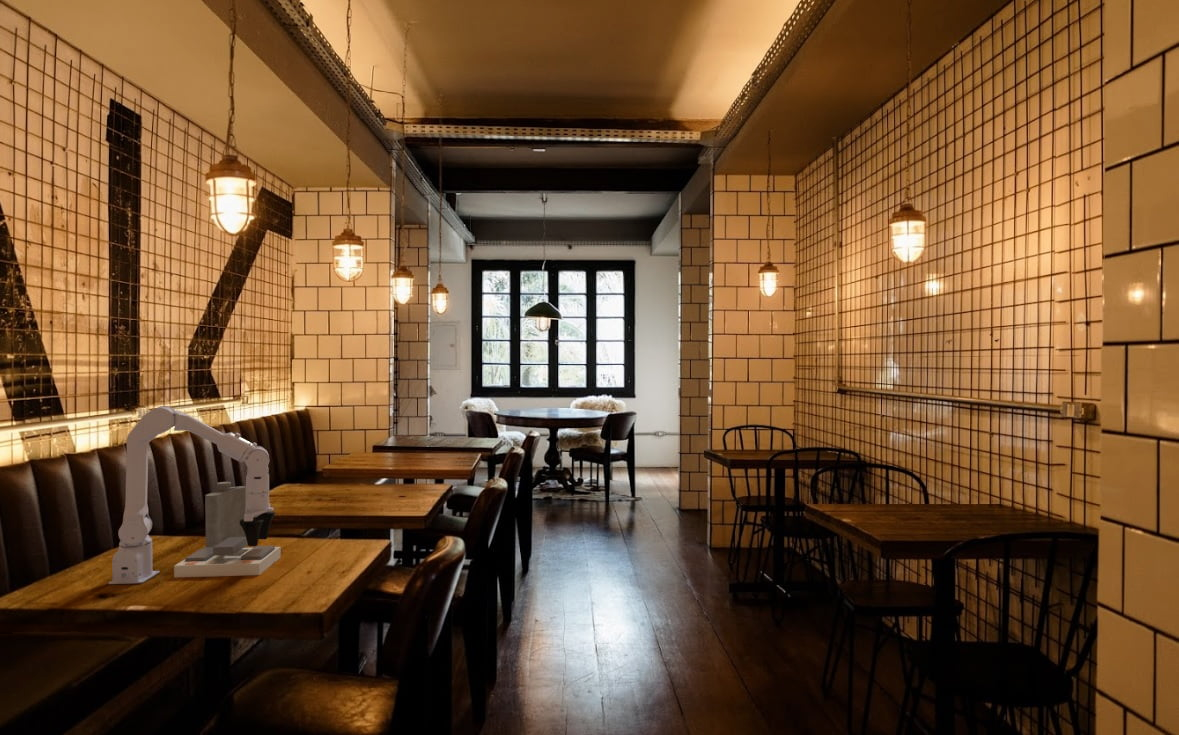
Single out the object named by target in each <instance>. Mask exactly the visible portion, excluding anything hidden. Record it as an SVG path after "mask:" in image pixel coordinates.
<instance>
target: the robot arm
mask: <svg viewBox="0 0 1179 735" xmlns="http://www.w3.org/2000/svg"><path fill="white" fill-rule="evenodd" d="M173 427H174V429H173V431H174V432H177V431H179V432H182V431H186V432H187V431H188V432H190V433H192V434H194V435H197V436H199V437H200V438H202V439H204V440H207V441H209V442H211V443H213V444H215V445H216V446H217V450H218V452H219V453H222V454H224V455H225V456H227V457H230V458H231V459H233V460H235V461H237V462H239V463H245V466H246V476H245V487H246V509H245V514H244V519H242V520H240V525H241V527H242V528H243V530H244V532H245V536H246V539H247V543H248V545H247V546H248V547H255V546H258V544H259V540H267V539H268V536H269V532H270V527H271V523H272V521H273V518H274V516H275V515H276V512H275V511H274V510H275V508H274V507H271V503H270V473H269V469H270V468H269V463H270V460H271V459H270V454H269V453H268V450H267V449H265V448H264V447H263V446H261V445H258V444H257V443H256V442H253V443H252V442H250V441H248V440H247V439H245V438H243V437H241V434H240V433H238V432H235V433H234V432H232V431H231V432H226V433H223V432H221V431H219V430H217V429H216V428H213V427H212V426H210V425H208V424H206V423H205V422H203V421H201V420H200V419H198V418H196V417H194V416H192V415H190V414H188V413H187V412H183V411H181V410H179V409H177V410H175V409H174V408H173V407H172V406H167V405H161V406H158V407H156V408H153V409H151V410H150V411H149V412H147V413H145V414H143V415H142V416H141V417H140V419H139V420H138V422H137V423H136V424H135V425H134V427H133V428H132V429H131V431H129V433H128V435H127V436H126V462H125V464H126V466H125V468H126V469H125V504H124V505H125V507H124V511H123V517H122V524H121V526H120V527H119V529H118V539H119V540H120V541H119V544H118V550H117V551H116V552H115V553H114V554H113V557H112V558H111V560H112V561H111V563H112V564H111V565H112V568H111V570H112V572H111V574H112V580H110V581H108V584H109V585H118V584H119V585H123V584H126V585H127V584H128V585H129V584H143V583H144V582H147V581H148V580H149V579H151V578H153V577H154V576H157V575H158V574H159V573H160V570H153V568H154V567H153V538H152V537H150V535H149V533H150V532H151V530H152V528H153V520H152V519H151V517H150V516H149V506H148V482H149V478H148V477H149V475H148V474H149V443H150V442H151V441H153V440H154V439H155V438H156V437H157V436H158V435H159V436H160V435H161V434H163V433H165V432H168V431H169V430H170V429H172V428H173Z"/></svg>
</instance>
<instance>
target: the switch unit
mask: <svg viewBox="0 0 1179 735" xmlns="http://www.w3.org/2000/svg"><path fill="white" fill-rule="evenodd" d="M252 548H253V547H244V548H243V549H241V550H240V551H238V552H237V553H235V554H234V555H220V556H213V557H212V558H210V559H209V560H207V561H189V562H185V559H183V560H181V561H180V562H178V563H176V564H175V565H174V566H173V568H174V569H173V570H174V571H173V576H174V578H199V577H200V578H201V577H202V578H203V577H229V576H230V577H231V576H233V577H235V576H236V577H237V576H239V577H240V576H260V575H261V574H263V573H264V572H265V571H266V570H267V569H268V567H269V568H270V567H271V566H272V565H273V564H274V562H275V563H276V562H277V561H279V559H281V558H280V557H282V556H281V553H282V552H281V550H282V549H281V548H282V547H281V546H274V549H275V550H273V551H272V552H271V553H269V554H268V555H267V556H266V557H264V558H263V559H262V560H241V556H242V555H244V554H245V553H247V552H248V551H250V550H251V549H252Z"/></svg>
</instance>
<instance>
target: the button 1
mask: <svg viewBox="0 0 1179 735" xmlns="http://www.w3.org/2000/svg"><path fill="white" fill-rule="evenodd" d="M212 557H213V547H206V546H205V547H204V546H203V547H202V548H200V549H198V550H195V552H193V553H191V554H190V555H188V556H186V557H185V558H184V560H185V562H189V561H207V560H209V559H210V558H212Z"/></svg>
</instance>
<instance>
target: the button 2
mask: <svg viewBox="0 0 1179 735" xmlns="http://www.w3.org/2000/svg"><path fill="white" fill-rule="evenodd" d="M274 547H275V545H257V546H253V547H251V548H252V549H251V550H250V551H248V552H247V553H245V554H244V555H242V556H241V560H262V559H263V558H264V557H266V556H267V555H268V554H269V553H271V552H272V551H273V550H275V549H274Z"/></svg>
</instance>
